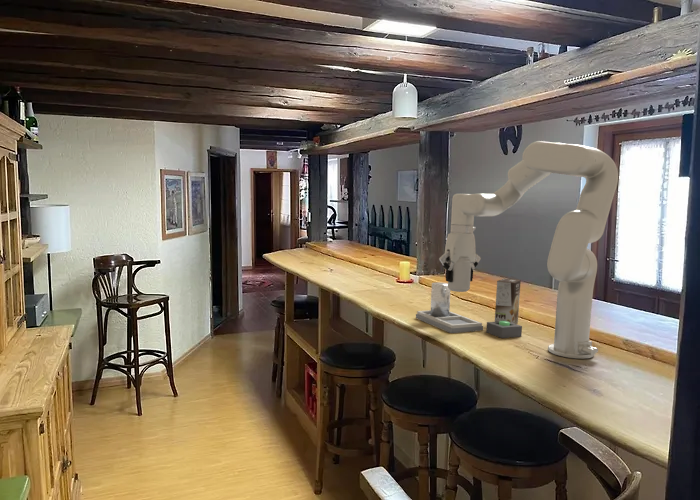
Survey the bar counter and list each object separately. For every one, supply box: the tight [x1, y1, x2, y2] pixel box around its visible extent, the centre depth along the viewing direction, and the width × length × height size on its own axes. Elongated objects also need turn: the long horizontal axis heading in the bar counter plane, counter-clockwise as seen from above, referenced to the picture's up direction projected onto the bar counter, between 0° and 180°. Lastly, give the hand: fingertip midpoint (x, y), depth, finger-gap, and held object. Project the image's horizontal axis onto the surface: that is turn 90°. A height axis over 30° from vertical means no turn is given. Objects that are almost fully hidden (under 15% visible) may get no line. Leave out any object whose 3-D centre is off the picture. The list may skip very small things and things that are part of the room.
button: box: [499, 321, 510, 326], centre depth 178 cm, size 3×3×3 cm
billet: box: [430, 281, 451, 317], centre depth 195 cm, size 7×7×12 cm
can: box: [447, 257, 471, 293], centre depth 184 cm, size 8×8×12 cm
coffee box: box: [494, 278, 522, 325], centre depth 193 cm, size 9×6×16 cm
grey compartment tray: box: [415, 309, 484, 334], centre depth 191 cm, size 23×13×3 cm, turn 23°
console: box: [485, 320, 523, 339], centre depth 178 cm, size 8×8×4 cm
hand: (459, 280), depth 184 cm, fingers closed on can, 7 cm apart
